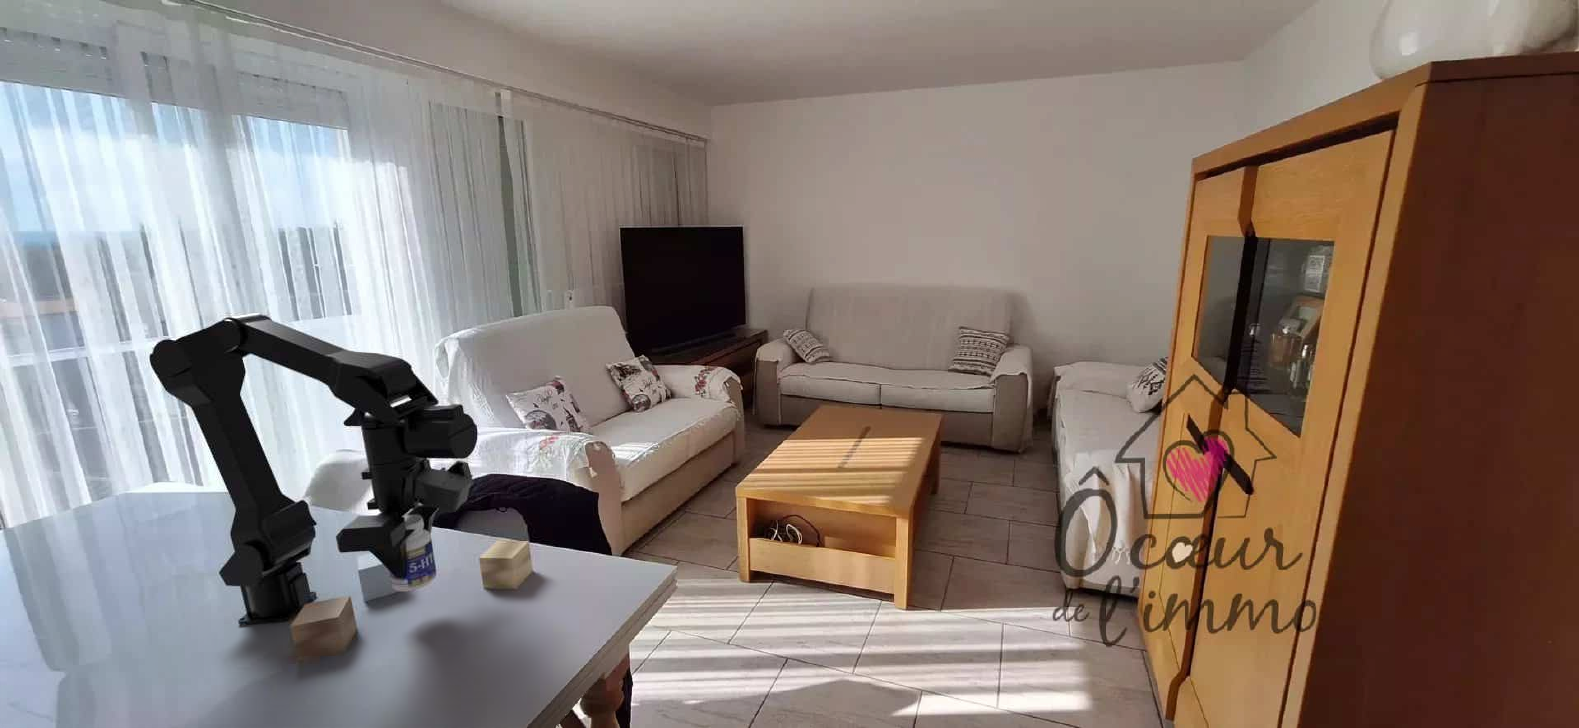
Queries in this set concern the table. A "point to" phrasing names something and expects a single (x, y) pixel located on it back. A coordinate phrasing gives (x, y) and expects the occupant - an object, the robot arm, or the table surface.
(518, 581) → the oak block
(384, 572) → the slate block
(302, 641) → the walnut block
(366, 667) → the table surface
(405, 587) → the pill bottle
